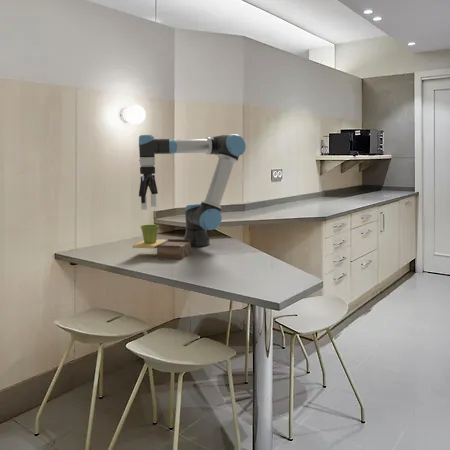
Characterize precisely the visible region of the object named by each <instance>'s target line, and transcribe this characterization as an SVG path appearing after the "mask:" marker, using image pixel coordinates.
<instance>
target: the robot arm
mask: <svg viewBox="0 0 450 450" xmlns="http://www.w3.org/2000/svg"><path fill="white" fill-rule="evenodd" d="M246 146H247V145H246V141H245V139H244V137H242V136H241V135H239V134H235V133H230V134H221V135H217V136H208V137H205V138H184V139H182V138H180V139H179V138H178V139H174V138H155V136H154V135H153V134H141V135H140V136H139V137H138V149H139V150H138V151H139V152H138V153H139V160H138V161H139V165H140V167H139V173H140V175H143V176H140V183H139V190H138V197H140V207H141V210H144V211H145V210H148V203H147V202H148V200H147V199H148V198H147V192H148V188H149V191H150V193H151V194H150V207H151V208H152V207H157V195H158V194H159V192H158V186H157V182H156V177H155V174H156V166H155V165H156V157H155V155H169V154H170V155H171V154H197V153H199V154H200V153H203V154H206V155H215V156H217V157H218V160H217V164H216V166H215V169H214V171H213V172H214V173H213V175H212V178H211V182H210V184H209V188H208V191H207V193H206V196H205V199H204V200H203V201H201V202H200V204H199V203H197V204H196V203H195V204H187V205H186V206H185V211H184V212H185V234H184V237H183V239H190V246H191V247H194V248H197V247H198V248H199V247H207V246H209V245H210V243H211V241H210V238H209V234H208V232H207V231H214V230H215V229H217V228H218V227H219V226H220V225H221V223H222V221H223V216H222V213H221V212H222V207H221V203H222V200H223V197H224V194H225V192H226V188H227V185H228V182H229V180H230V176H231V173H232V171H233V170H232V169H233V167H234V165H235V164H236V163H237V162H238V161H239V157H240V156H242V155H243V154H244V153H245V152H246V148H247V147H246Z"/></svg>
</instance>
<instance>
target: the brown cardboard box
mask: <svg viewBox="0 0 450 450" xmlns="http://www.w3.org/2000/svg"><path fill="white" fill-rule="evenodd" d="M167 240H168V241H167V242H166V243H164V244H162V245H157V248H156V252H157V253H156V254H157V260H174V261H175V260H176V261H181V260H183V259H184V258H186V256H188V255H190V254H191V252H192V251H191V250H192V248H191V246H190V239H184V238H183V239H181V238H168V239H167Z"/></svg>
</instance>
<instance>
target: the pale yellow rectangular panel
mask: <svg viewBox="0 0 450 450" xmlns="http://www.w3.org/2000/svg"><path fill="white" fill-rule="evenodd" d="M167 241H168V239H156V242H155V243H144V239H143V240H141V241H139V242H136V244H133V245H132V248H133V249H157V245H162V244H164V243H166V242H167Z"/></svg>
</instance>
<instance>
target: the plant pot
mask: <svg viewBox="0 0 450 450" xmlns="http://www.w3.org/2000/svg"><path fill="white" fill-rule="evenodd" d="M159 227H160V225H158V224H143V225H140V228H141V229H140V230H141V232H142V238H143V240H144V243H155V242H156V240H157V237H158V229H159Z"/></svg>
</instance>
